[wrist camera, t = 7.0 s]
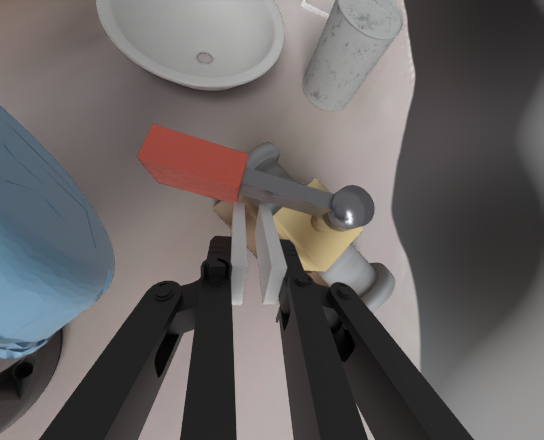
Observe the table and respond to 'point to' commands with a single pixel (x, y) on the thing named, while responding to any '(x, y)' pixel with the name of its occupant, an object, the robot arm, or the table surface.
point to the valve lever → (244, 179)
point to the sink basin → (197, 38)
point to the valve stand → (313, 238)
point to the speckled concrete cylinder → (350, 50)
